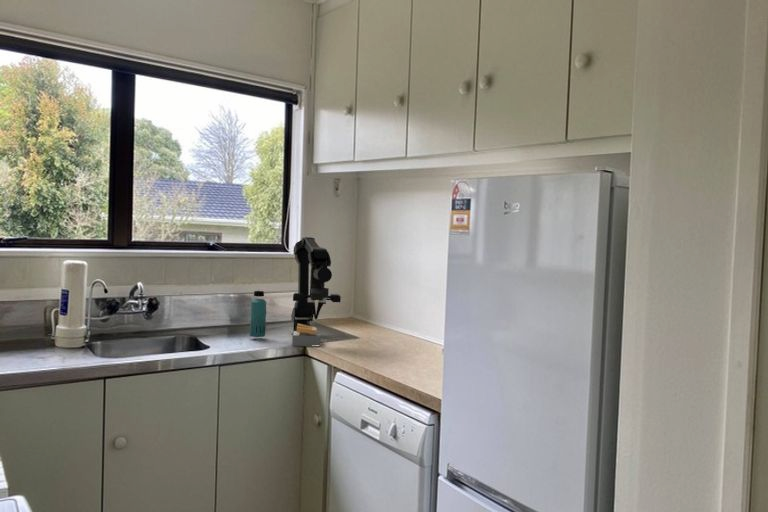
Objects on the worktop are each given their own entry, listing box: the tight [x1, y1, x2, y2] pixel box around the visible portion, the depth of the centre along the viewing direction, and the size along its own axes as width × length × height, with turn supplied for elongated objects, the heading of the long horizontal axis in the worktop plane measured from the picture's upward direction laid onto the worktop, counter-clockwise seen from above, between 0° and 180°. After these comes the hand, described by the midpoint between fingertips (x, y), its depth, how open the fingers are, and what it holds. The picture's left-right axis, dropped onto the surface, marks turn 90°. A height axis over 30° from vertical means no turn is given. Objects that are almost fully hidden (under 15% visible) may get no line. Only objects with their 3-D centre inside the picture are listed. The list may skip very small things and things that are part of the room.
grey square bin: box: [291, 331, 322, 347], centre depth 233 cm, size 11×11×5 cm
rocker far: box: [297, 323, 318, 330], centre depth 235 cm, size 8×4×2 cm, turn 98°
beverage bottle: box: [249, 290, 267, 338], centre depth 236 cm, size 6×7×20 cm
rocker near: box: [296, 327, 318, 334], centre depth 230 cm, size 8×4×2 cm, turn 98°
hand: (315, 319), depth 230 cm, fingers closed
